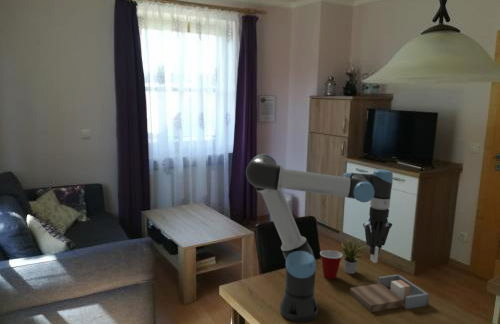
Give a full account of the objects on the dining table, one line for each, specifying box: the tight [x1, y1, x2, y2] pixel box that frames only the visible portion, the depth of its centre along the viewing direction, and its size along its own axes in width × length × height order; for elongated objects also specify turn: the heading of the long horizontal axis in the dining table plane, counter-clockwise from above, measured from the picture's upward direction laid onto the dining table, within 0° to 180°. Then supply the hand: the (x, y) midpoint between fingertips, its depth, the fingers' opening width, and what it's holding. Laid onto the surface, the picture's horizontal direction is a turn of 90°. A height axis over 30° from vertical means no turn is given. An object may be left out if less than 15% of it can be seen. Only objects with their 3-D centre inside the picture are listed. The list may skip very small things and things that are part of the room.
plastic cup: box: [319, 250, 344, 280], centre depth 185 cm, size 11×11×12 cm
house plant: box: [340, 238, 369, 275], centre depth 191 cm, size 14×14×16 cm
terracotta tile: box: [396, 280, 410, 301], centre depth 169 cm, size 6×6×2 cm
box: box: [377, 273, 430, 310], centre depth 169 cm, size 11×19×5 cm, turn 18°
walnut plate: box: [349, 283, 405, 313], centre depth 165 cm, size 16×15×3 cm
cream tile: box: [389, 281, 405, 301], centre depth 168 cm, size 6×6×2 cm
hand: (373, 261), depth 162 cm, fingers closed
